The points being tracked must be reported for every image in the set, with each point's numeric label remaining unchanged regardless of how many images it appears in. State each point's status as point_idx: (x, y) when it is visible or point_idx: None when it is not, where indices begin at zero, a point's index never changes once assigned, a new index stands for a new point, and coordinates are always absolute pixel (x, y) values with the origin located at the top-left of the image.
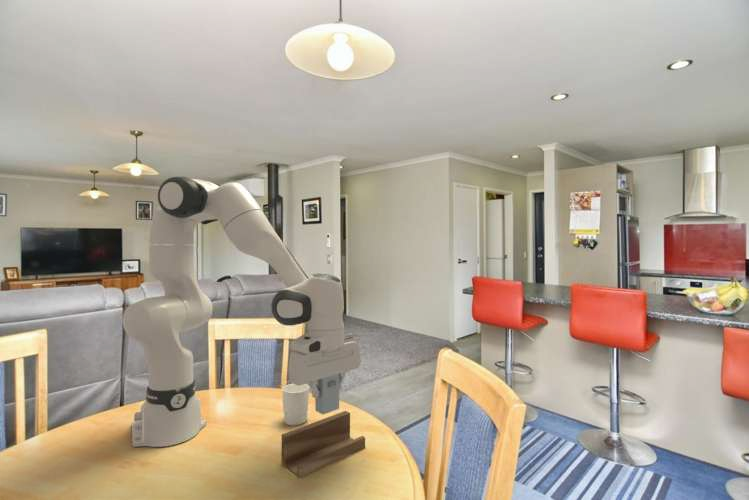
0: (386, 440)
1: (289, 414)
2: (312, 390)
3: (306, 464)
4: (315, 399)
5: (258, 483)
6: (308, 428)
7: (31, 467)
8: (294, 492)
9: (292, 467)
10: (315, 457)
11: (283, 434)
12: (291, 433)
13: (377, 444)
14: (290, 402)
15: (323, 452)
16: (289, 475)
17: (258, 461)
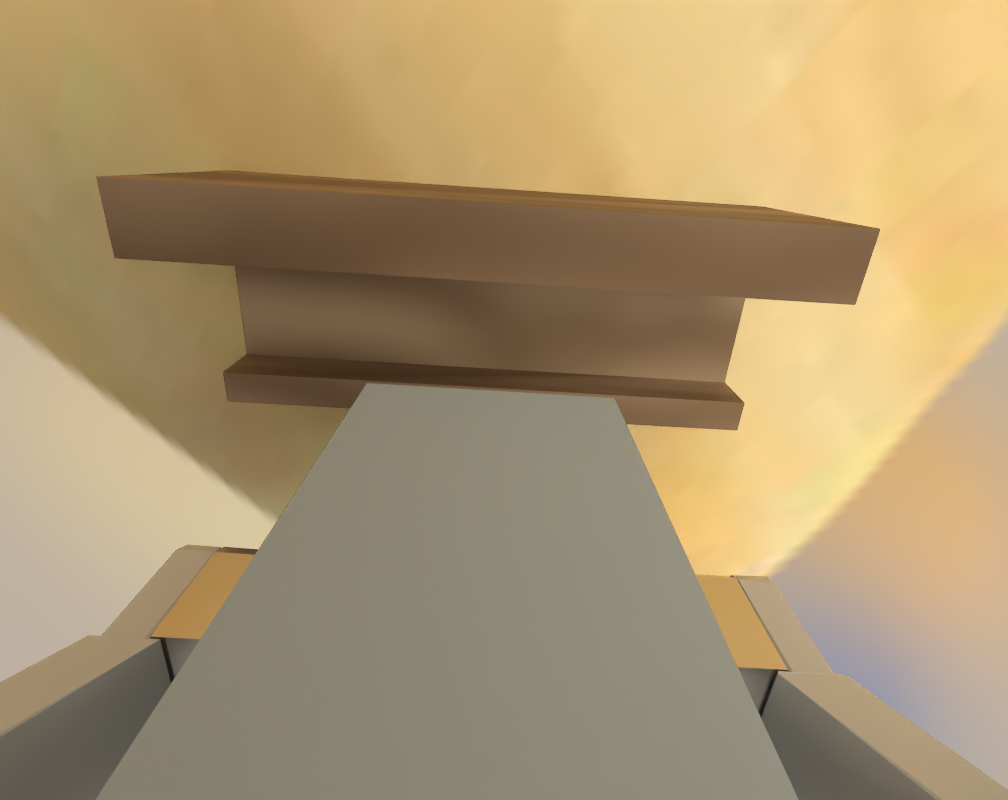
0: (851, 440)
1: None
2: (119, 630)
3: (273, 402)
4: (324, 449)
5: (39, 256)
6: (360, 269)
7: None
8: (182, 445)
9: (251, 284)
10: (352, 386)
11: (113, 190)
12: (186, 231)
13: (780, 433)
14: None
15: (490, 286)
16: (217, 318)
17: (96, 14)
